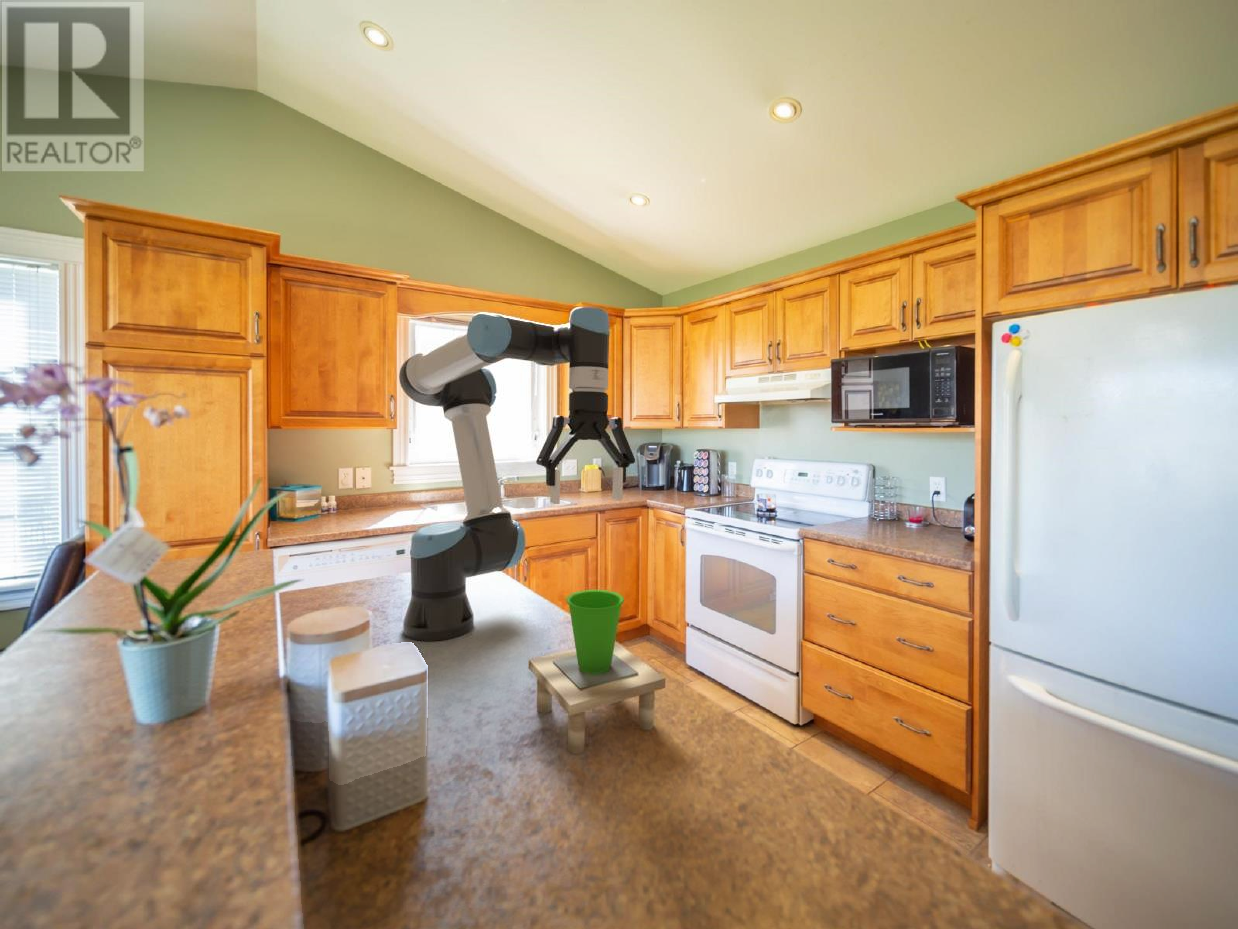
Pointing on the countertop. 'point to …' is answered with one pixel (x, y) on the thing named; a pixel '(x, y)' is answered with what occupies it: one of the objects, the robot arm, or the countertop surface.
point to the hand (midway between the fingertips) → (587, 501)
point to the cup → (594, 627)
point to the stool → (594, 688)
